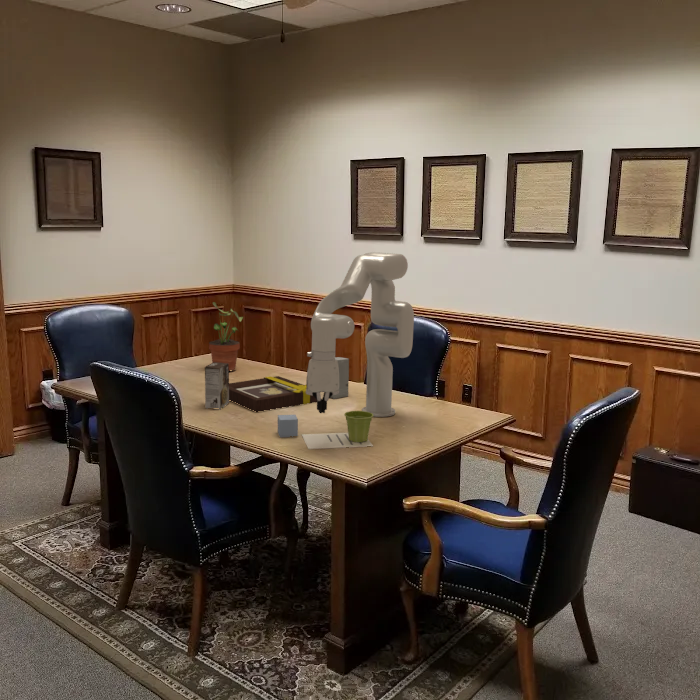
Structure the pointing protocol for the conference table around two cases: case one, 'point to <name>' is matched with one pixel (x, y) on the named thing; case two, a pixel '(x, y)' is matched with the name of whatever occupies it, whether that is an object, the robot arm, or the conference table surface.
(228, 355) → the potted plant
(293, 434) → the cube
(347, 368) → the skincare box
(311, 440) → the letter
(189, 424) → the conference table surface
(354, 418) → the plant pot
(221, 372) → the coffee box
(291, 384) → the brown gift box
